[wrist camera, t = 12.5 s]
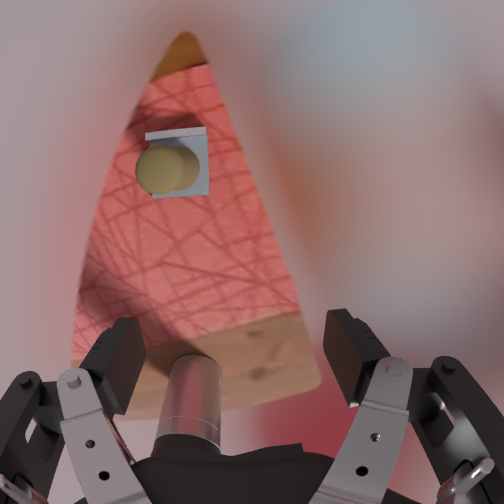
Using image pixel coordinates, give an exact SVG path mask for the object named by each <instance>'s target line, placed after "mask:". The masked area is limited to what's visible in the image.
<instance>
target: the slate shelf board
mask: <svg viewBox="0 0 504 504" xmlns="http://www.w3.org/2000/svg"><path fill="white" fill-rule="evenodd" d="M149 143H150V147H151V146H154V145H158V144H162V145H168V146H171V147H185V148H188V149H190V150H191V151H192V152H194V153H195V154H196V156H197V158H198V160H199V164H200V171H199V175H198V178H197V180H196V181H195V182H194V183H193V184H192V186H190V187H188V188H186V189H184V190H179V191H178V190H173V191H171V192H169V193H166V194H162V195H157V194H152V199H154V198H166V197H180V196H195V195H209V194H210V190H209V165H208V136H198V137H186V138H176V139H166V140H158V141H150V142H149Z"/></svg>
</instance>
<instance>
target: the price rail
mask: <svg viewBox="0 0 504 504" xmlns="http://www.w3.org/2000/svg"><path fill="white" fill-rule="evenodd" d="M198 136H208V129H207V128H206V127H195V128H183V129H174V130H165V131H157V132H149V133H145V140H146V141H149V142H150V141H158V140H166V139H176V138H186V137H198Z"/></svg>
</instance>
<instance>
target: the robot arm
mask: <svg viewBox="0 0 504 504" xmlns="http://www.w3.org/2000/svg"><path fill="white" fill-rule="evenodd" d="M323 348H324V353H325V355H326V357H327V360H328V362H329V364H330V366H331V368H332V370H333V373H334V375H335V377H336V379H337V381H338V384H339V386H340V388H341V390H342V392H343V395H344V397H345V399H346V401H347V404H348V406H349V407H354V406H358V405H359V406H360V408H359V410H358V413H357V415H356V417H355V420H354V422H353V424H352V426H351V428H350V431H349V433H348V435H347V437H346V439H345V441H344V443H343V445H342V447H341V449H340V451H339V453H338V455H337V457H336V459H334V458H332V457H329V456H326V455H322V454H318V453H313V452H303V448H302V444H301V443H298V444H290V445H282V446H272V447H265V448H262V449H258V450H255V451H251V452H247V453H243V454H240V455H236V456H227V455H222V454H221V453H220V438H221V437H220V430H221V428H220V427H221V390H222V371H221V369H220V367H219V366H218V364H217V363H216V362H214V361H213V360H211V359H210V358H208V357H205V356H202V355H194V354H192V355H185V356H182V357H180V358H178V359H177V360H176V361H175V362H174V364H173V366H172V370H171V374H170V378H169V381H168V385H167V389H166V393H165V398H164V402H163V406H162V410H161V415H160V419H159V424H158V429H157V433H156V439H155V443H154V448H153V451H152V454H151V457H149V458H145V459H143V460H140V461H138V462H136V461H135V459H134V458H133V456H132V455H131V453H130V451H129V449H128V448H127V446H126V444H125V442H124V440H123V438H122V437H121V435H120V433H119V431H118V429H117V427H116V425H115V423H114V421H113V416H114V414H120V415H125V413H126V410H127V408H128V405H129V402H130V399H131V396H132V393H133V391H134V388H135V385H136V383H137V380H138V377H139V374H140V372H141V369H142V367H143V364H144V361H145V356H146V351H145V345H144V342H143V338H142V334H141V331H140V327H139V323H138V320H137V318H133V317H119V318H118V319H117V321H116V322H115V324H114V325H113V327H112V328H108V329H107V330H105V331H104V332H103V333H101V334H100V336H99V337H98V339H97V340H96V343H94V345H93V346H92V349H90V351H89V352H88V354H87V356H86V357H85V359H84V360H83V362H82V363H81V365H80V367H79V368H73V369H69V370H67V371H65V372H63V373H62V374H61V375H60V376H59V378H58V380H57V381H54V382H42V380H41V378H40V376H39V375H38V374H37V373H36V372H33V371H26V372H23V373H21V374H19V375H18V376H17V377H16V378H15V379H14V380H13V382H12V383H11V385H10V386H9V388H8V389H7V391H6V392H5V394H4V395H3V397H2V399H1V400H0V504H49V503H48V501H47V498H48V495H49V491H50V488H51V484H52V481H53V478H54V474H55V471H56V468H57V465H58V462H59V459H60V456H61V453H62V450H63V448H64V445H65V443H66V447H67V450H68V453H69V456H70V459H71V462H72V465H73V468H74V470H75V473H76V476H77V478H78V481H79V483H80V486H81V488H82V490H83V493H84V495H85V497H84V498H82V499H81V500H79V501H78V502H76V503H74V504H421V503H418V502H416V501H414V500H411V499H409V498H407V497H405V496H403V495H401V494H399V493H397V492H395V491H392V490H390V489H388V488H387V486H388V484H389V481H390V478H391V475H392V473H393V470H394V467H395V464H396V461H397V457H398V454H399V451H400V447H401V444H402V440H403V436H404V433H405V429H406V425H407V422H411V424H412V426H413V428H414V430H415V432H416V434H417V436H418V438H419V440H420V442H421V444H422V446H423V448H424V450H425V452H426V454H427V457H428V459H429V461H430V463H431V465H432V467H433V469H434V472H435V474H436V476H437V478H438V480H439V483H440V485H441V486H440V488H439V490H438V493H437V502H436V504H504V417H503V415H502V414H501V412H500V411H499V410H498V408H497V407H496V406H495V404H494V403H493V402H492V401H491V399H490V398H489V397H488V395H487V394H486V393H485V391H484V390H483V389H482V388H481V387H480V385H479V384H478V383H477V382H476V380H475V379H474V378H473V377H472V376H471V374H470V373H469V372H468V371H467V369H466V368H465V367H464V366H463V365H462V364H461V362H460V361H458V360H457V359H455V358H453V357H449V356H440V357H437V358H436V359H435V360H434V361H433V363H432V365H431V368H412V366H411V364H410V363H409V362H408V361H406V360H404V359H402V358H399V357H392V356H391V355H390V354H389V352H388V351H387V350H386V348H385V347H384V346H383V344H382V343H381V342H380V341H379V339H378V338H376V335H375V334H374V333H373V332H372V330H371V329H370V327H369V326H368V325H367V324H366V323H365V322H363V321H361V320H360V319H358V318H356V319H353V317H352V316H351V315H350V313H349V312H348V311H347V309H345V308H343V309H335V310H328V312H327V316H326V324H325V332H324V339H323ZM445 407H447V409H448V410H449V412H450V413H451V415H452V417H453V419H454V425H453V424H452V422H451V421H450V419H449V417H448V416H447V414H446V413H445V411H444V408H445ZM32 418H33V420H34V421H35V422H36V424H37V425H36V427H35V429H34V431H33V434H32V436H31V438H30V440H29V442H28V443H27V441H26V438H25V433H26V430H27V428H28V426H29V424H30V422H31V419H32Z"/></svg>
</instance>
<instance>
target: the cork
mask: <svg viewBox="0 0 504 504" xmlns="http://www.w3.org/2000/svg"><path fill="white" fill-rule="evenodd" d="M199 171H200V164H199V160H198V158H197V156H196V154H195V153H194V152H192V151H191V150H190V149H188V148H185V147H171V146H168V145H162V144H158V145H154V146H151V147H150V148H148V149H147V150H145V151H144V152H143V153H142V154H141V155H140V157H139V158H138V161H137V163H136V169H135V174H136V179H137V181H138V183H139V184H140V186H141V187H142V188H143V189H144V190H145V191H147V192H149V193H152V194H157V195H162V194H166V193H169V192H171V191H173V190H178V191H179V190H184V189H186V188H188V187H190V186H192V184H193V183H194V182H195V181H196V180H197V178H198V175H199Z"/></svg>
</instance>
